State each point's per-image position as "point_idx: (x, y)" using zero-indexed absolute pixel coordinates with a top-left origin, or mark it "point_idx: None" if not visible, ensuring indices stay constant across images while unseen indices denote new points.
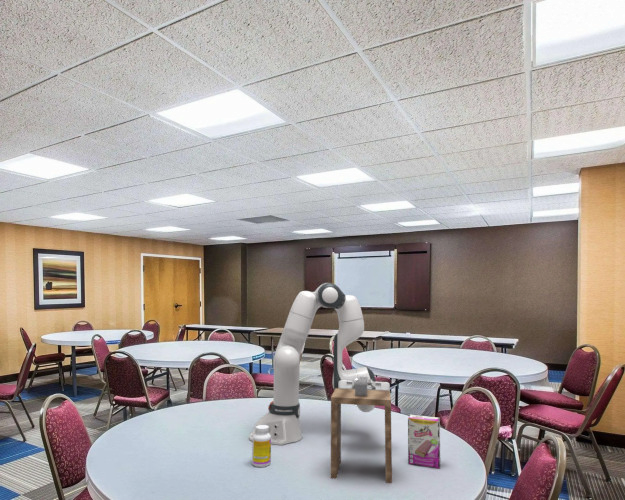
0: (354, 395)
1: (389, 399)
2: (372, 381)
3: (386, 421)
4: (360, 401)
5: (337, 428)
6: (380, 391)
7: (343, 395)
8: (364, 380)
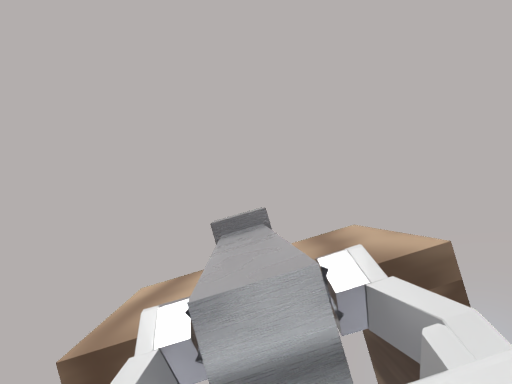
0: None
1: (143, 289)
2: (133, 363)
3: None
4: None
5: (376, 354)
6: (138, 327)
7: (323, 240)
8: (230, 248)
